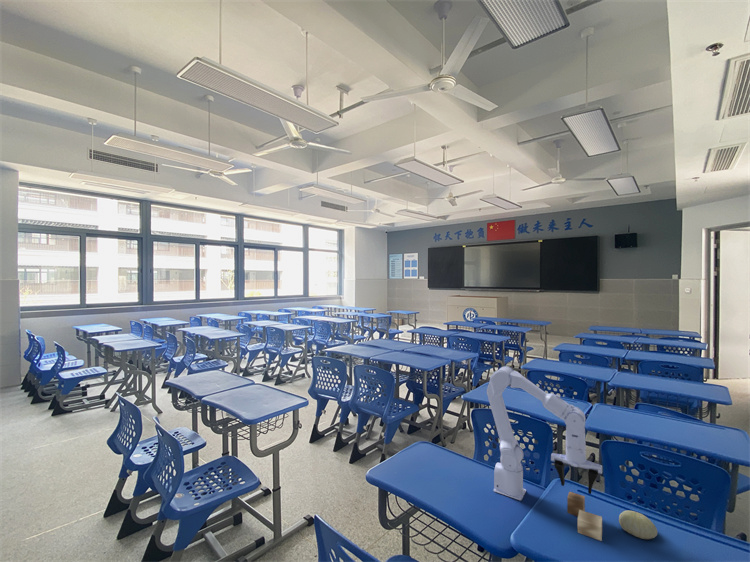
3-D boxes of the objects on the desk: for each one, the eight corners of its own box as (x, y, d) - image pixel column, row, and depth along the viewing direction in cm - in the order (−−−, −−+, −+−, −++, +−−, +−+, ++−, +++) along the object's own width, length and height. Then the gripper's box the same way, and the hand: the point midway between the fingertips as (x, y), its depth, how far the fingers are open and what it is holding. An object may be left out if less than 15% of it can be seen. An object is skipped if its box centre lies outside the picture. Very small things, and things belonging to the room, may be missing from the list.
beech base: (577, 533, 103) (577, 519, 103) (579, 522, 108) (579, 509, 108) (601, 541, 100) (601, 527, 100) (602, 530, 105) (602, 516, 105)
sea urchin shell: (644, 539, 98) (625, 507, 104) (625, 546, 103) (608, 515, 109) (668, 534, 100) (647, 503, 106) (648, 541, 105) (630, 511, 111)
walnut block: (567, 513, 113) (567, 497, 113) (569, 506, 116) (569, 491, 116) (583, 518, 110) (583, 502, 110) (584, 511, 114) (584, 496, 114)
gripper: (549, 444, 115) (549, 486, 114) (600, 457, 106) (601, 502, 106) (552, 437, 121) (553, 477, 120) (602, 449, 112) (603, 491, 112)
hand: (576, 488), depth 113 cm, fingers open, 7 cm apart
